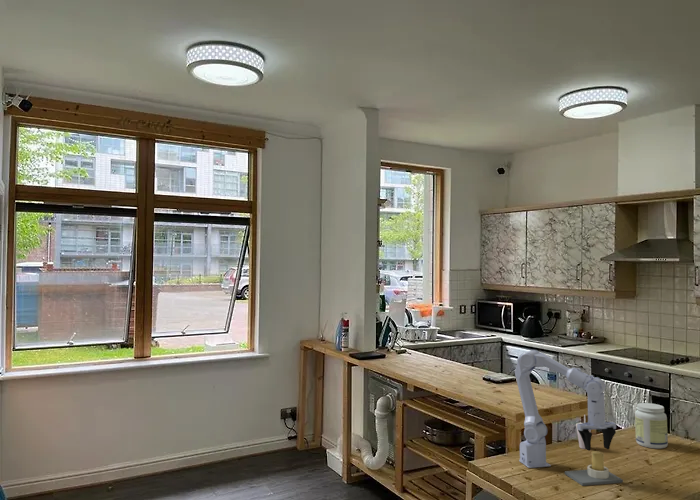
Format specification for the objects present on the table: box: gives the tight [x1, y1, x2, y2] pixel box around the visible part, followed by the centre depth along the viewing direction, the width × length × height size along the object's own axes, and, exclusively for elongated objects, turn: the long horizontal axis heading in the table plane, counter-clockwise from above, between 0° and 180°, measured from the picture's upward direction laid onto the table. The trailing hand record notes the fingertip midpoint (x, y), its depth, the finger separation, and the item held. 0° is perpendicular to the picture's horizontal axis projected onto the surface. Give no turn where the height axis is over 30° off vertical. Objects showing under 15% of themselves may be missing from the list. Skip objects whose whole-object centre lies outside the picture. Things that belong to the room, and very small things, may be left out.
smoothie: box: [575, 414, 592, 450], centre depth 224 cm, size 6×6×14 cm
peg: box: [590, 450, 605, 471], centre depth 191 cm, size 4×4×8 cm
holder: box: [564, 464, 624, 487], centre depth 190 cm, size 16×11×4 cm
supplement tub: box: [634, 402, 669, 449], centre depth 227 cm, size 12×12×17 cm
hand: (597, 449), depth 191 cm, fingers open, 7 cm apart
